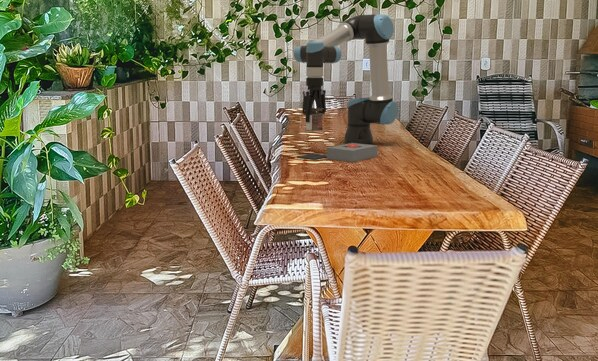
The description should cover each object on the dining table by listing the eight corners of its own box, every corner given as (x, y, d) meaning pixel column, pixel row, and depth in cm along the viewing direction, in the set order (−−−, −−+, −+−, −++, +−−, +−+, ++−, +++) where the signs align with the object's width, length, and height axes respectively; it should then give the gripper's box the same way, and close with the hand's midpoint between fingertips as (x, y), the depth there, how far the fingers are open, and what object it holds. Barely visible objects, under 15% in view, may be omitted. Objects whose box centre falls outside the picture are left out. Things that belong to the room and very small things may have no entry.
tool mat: (313, 154, 322) (313, 153, 322) (330, 156, 316) (330, 155, 316) (296, 157, 313) (296, 156, 313) (314, 160, 307) (314, 158, 307)
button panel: (351, 153, 326) (351, 142, 325) (377, 156, 317) (377, 145, 316) (326, 158, 311) (326, 147, 310) (352, 162, 302) (353, 150, 301)
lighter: (306, 130, 310) (306, 108, 308) (304, 130, 313) (304, 107, 311) (323, 130, 312) (324, 108, 310) (321, 129, 315) (321, 107, 313)
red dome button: (350, 154, 317) (351, 143, 316) (359, 155, 314) (360, 144, 313) (344, 155, 313) (345, 144, 312) (353, 156, 310) (354, 145, 310)
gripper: (321, 76, 318) (320, 126, 322) (293, 77, 303) (293, 130, 307) (334, 76, 313) (334, 127, 318) (307, 77, 298) (307, 131, 302)
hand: (314, 129), depth 312 cm, fingers closed on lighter, 7 cm apart
